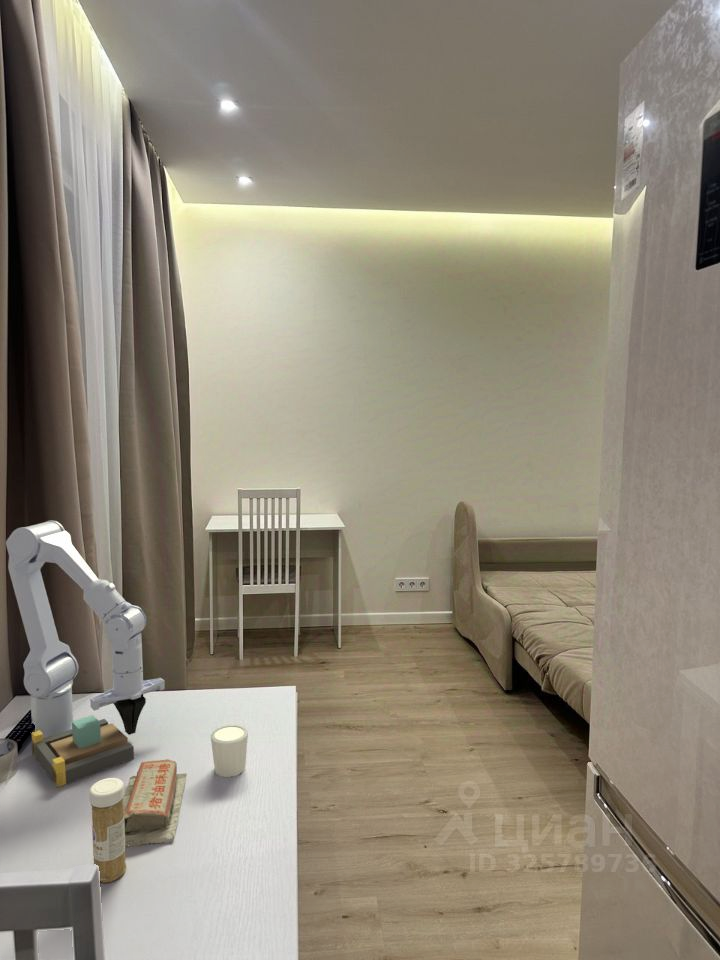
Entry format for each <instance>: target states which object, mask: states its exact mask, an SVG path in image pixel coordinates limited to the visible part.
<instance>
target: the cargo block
mask: <svg viewBox="0 0 720 960" xmlns="http://www.w3.org/2000/svg"><path fill="white" fill-rule="evenodd" d="M72 737H73V742H74V743H75V744H76V745H77V746H78V748H79V749H81V748H84V747H87V746H90V745H93V744H96V743H99V742H101V730H100V722H99V719H98V718H97V717H95V715H93V714H91V715H87V716H85V717H82V718H79V719H75V720H73V721H72Z"/></svg>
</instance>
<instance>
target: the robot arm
mask: <svg viewBox="0 0 720 960" xmlns="http://www.w3.org/2000/svg"><path fill="white" fill-rule="evenodd" d="M5 546H6V550H7V552H8V565H7V566H8V572H9V577H10V580H11V583H12V587H13V591H14V595H15V598H16V601H17V606H18V609H19V613H20V616H21V621H22V624H23V628H24V632H25V635H26V638H27V642H28V645H29V646H28V647H29V649H30V650H29V653H28V655H27V657H26V658H25V660H24V661H23V665H22V667H23V670H24V676H23V686H24V689H25V691H27V693H28V694H29V695H30V712H31V713H30V714H31V724H32V723H33V724H34V725H35V731H38V730H40V731H41V732H42V733H43V738H46V737H49V736H52V735H55V734H58V733H61V732H64V731H68V730H71V729H72V721H74V710H73V690H72V687H73V685H74V679H75V678H76V676H77V675H78V673H79V663H78V661H77V659H76V657H75V656H74V654H73V653H72V651H71V648H70V645H68V644H66V643H64V642H62V641H60V639H59V636H58V631H57V628H56V625H55V620H54V617H53V613H52V609H51V605H50V602H49V597H48V595H47V590H46V588H45V587H46V585H45V583H44V580H43V576H42V572H41V569H42V567H43V566H44V564H45V563H53V564H56V565H58V566H59V568H60V569H62V570H63V571H64V573H65V574H66V575H68V576H69V578H70V579H71V580H73V582H75V583H76V585H78V586H79V587H80V588H81V589H82V590H83V596H82V597H83V601H84V602H85V604H87V605H88V607H90V609H91V610H92V611H93V612H94V613H95V614H96V616H97V617H98V618H99V619H100V620H101V622H103V624H104V625H105V627H103V631H104V634H105V636H106V638H107V639H108V641H109V646H110V649H111V665H112V666H111V667H112V688H111V689H108V690H106V691H104V692H102V693H100V694H98V695H95V696H92V697H90V698H89V700H90V701H89V702H90V708H91V709H92V711H98V710H100V708H102V707H106V706H108V705H111V704H113V706H114V707H115V708H116V710H117V712H118V714H119V716H120V718H121V720H122V724H123V727H124V732H125V733H126V734H127V735H128V736H129V735H133V734H136V731H137V726H138V722H139V718H140V716H141V713H142V711H143V709H144V707H145V705H146V703H147V702H146V701H147V700H146V697H144V695H145V694H147V693H151V692H154V691H158V690H159V691H163V690H165V686H166V685H165V683H166V682H165V681H166V680H165V679H163V678H161V677H158V678H152V679H146V680H144V672H143V671H144V668H143V667H144V666H143V643H142V631H144V629H145V628H146V626H147V615H146V614H145V612H144V610H143V609H142V608H141V607H140V606H138V605H133V604H131V603H130V602H128V601H126V600H125V598H124V597H123V596H122V595H121V594H120V593H119V592H118V591H117V589H116V586H115V584H114V583H113V582H110V581H109V580H107V579H100V578H98V577H97V575H96V574H95V573H94V572H93V570H92V569H91V567H90V566H89V565H88V563H87V562H86V561H85V559H84V558H83V557H82V555H81V554H80V553H79V552H78V550H77V549H76V548H75V546H74V545H73V543H72V536H71V534H70V533H69V532H68V531H67V530H65V528H64V526H63V525H62V524H61V523H60V522H59V521H57V520H47V521H45V522H41V523H37V524H33V525H30V526H29V525H28V526H25V527H24V526H23V527H18V528H16V529H14V530H13V531H12V532H11V534H10V535H9V537H8V538H7V539H6V541H5Z"/></svg>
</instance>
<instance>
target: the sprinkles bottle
mask: <svg viewBox="0 0 720 960" xmlns="http://www.w3.org/2000/svg"><path fill="white" fill-rule="evenodd" d="M124 786H125V785H124V782H123V780H121V779H120V778H116V777H108V778H104V779H101V780H98V781H96V782H95V783H94V784H93V785H92V786H91V787H90V789H89V803H90V805H91V821H92V825H91V829H92V856H93V865H94V864H96V865H98V866H99V871H100V881H101V882H100V883H111V882H113V881H115V880H117V879H119V878H120V877H122V876H123V875H124V873H126V870H127V862H126V847H125V824H124V812H123V811H124V810H123V797H124V795H125V787H124Z"/></svg>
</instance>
